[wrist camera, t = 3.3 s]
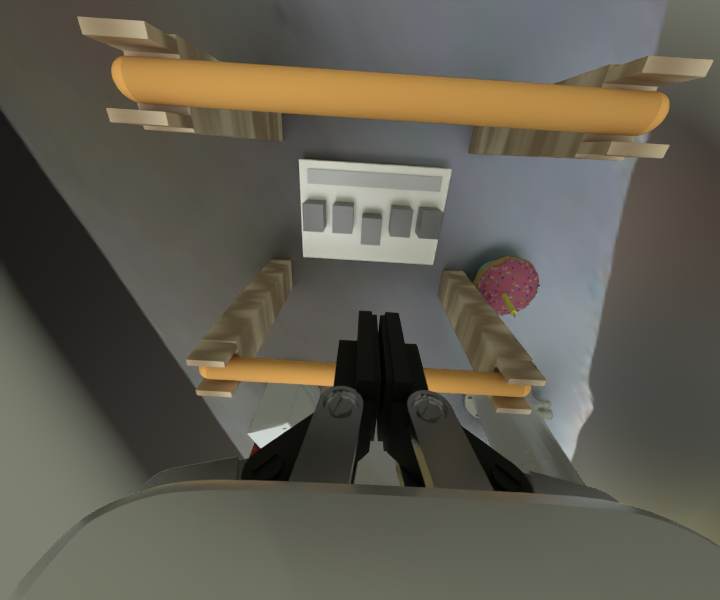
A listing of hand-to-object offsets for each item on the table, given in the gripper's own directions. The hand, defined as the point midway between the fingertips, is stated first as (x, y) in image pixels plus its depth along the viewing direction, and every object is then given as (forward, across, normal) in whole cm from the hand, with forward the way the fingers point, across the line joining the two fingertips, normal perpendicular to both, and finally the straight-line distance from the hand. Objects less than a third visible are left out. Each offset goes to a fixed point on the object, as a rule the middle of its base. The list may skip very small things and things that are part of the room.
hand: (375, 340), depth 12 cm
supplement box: (+30, +12, +34) cm, 46 cm away
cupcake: (+30, -20, +9) cm, 36 cm away
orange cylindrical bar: (+8, 0, +10) cm, 13 cm away
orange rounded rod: (+9, 0, -10) cm, 13 cm away
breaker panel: (+30, 0, +1) cm, 30 cm away
